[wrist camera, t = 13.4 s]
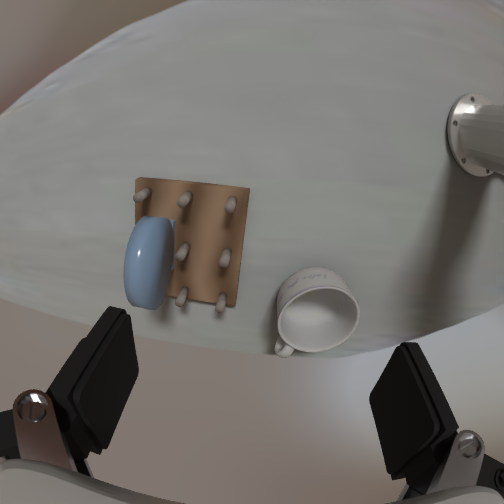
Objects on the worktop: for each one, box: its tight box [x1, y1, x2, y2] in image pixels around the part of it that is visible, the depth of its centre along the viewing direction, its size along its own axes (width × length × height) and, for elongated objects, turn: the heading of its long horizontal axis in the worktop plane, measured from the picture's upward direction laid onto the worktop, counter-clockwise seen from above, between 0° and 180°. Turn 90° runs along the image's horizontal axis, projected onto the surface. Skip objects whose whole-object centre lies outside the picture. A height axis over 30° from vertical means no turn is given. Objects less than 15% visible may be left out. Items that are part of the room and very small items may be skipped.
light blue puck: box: [124, 216, 175, 310], centre depth 34 cm, size 2×11×12 cm, turn 173°
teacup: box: [275, 267, 360, 358], centre depth 40 cm, size 14×11×8 cm
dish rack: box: [133, 177, 250, 313], centre depth 39 cm, size 15×17×5 cm
